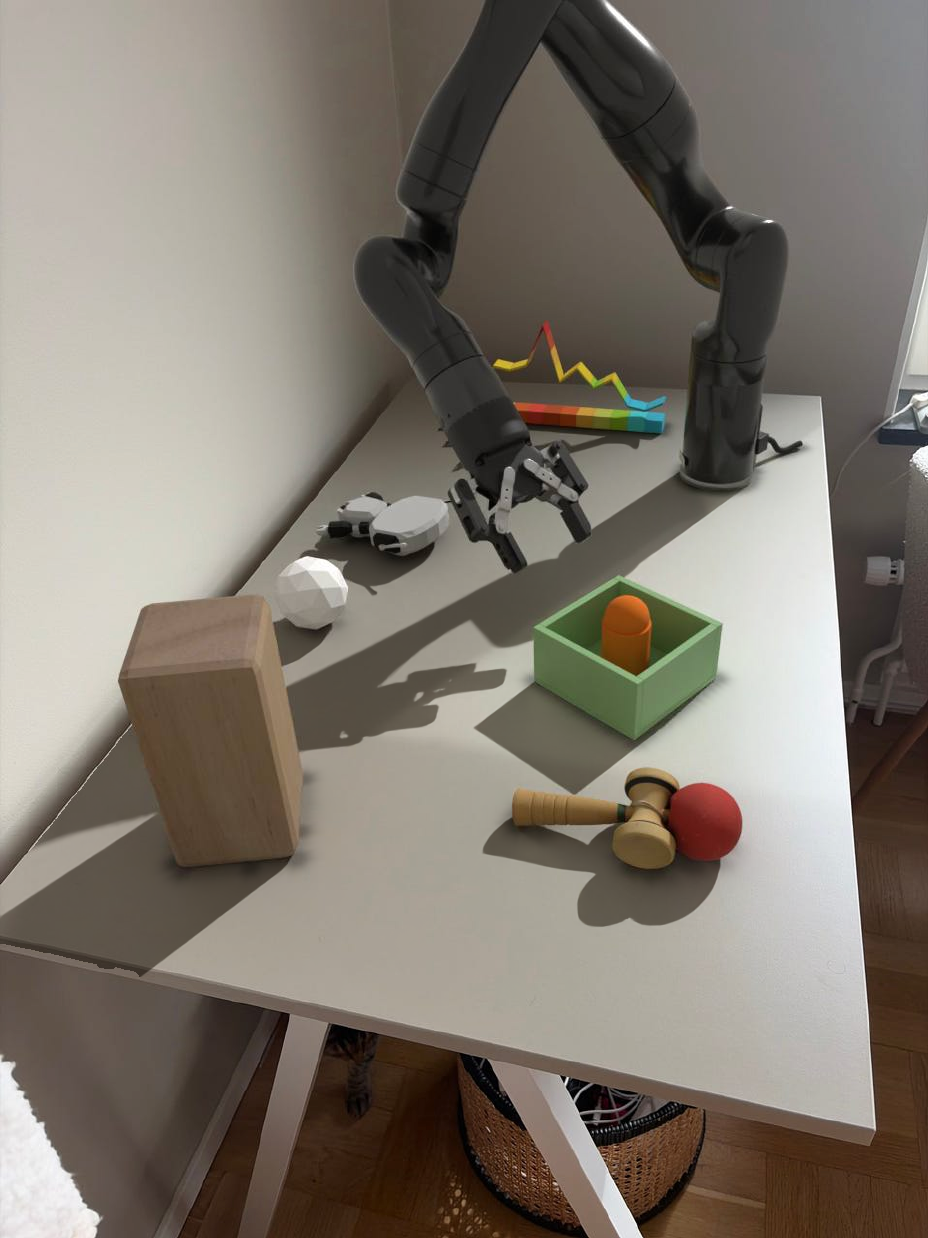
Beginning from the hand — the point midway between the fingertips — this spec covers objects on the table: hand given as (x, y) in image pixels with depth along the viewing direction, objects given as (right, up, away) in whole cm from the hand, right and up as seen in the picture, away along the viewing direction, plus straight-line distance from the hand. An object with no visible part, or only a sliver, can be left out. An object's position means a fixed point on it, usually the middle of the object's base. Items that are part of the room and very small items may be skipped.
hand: (553, 554), depth 97 cm
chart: (+6, +23, +51) cm, 56 cm away
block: (-28, -24, -14) cm, 39 cm away
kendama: (+4, -24, -18) cm, 31 cm away
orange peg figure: (+7, -12, -2) cm, 14 cm away
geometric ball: (-25, -7, +10) cm, 28 cm away
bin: (+7, -12, -1) cm, 14 cm away
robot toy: (-18, +3, +24) cm, 30 cm away
